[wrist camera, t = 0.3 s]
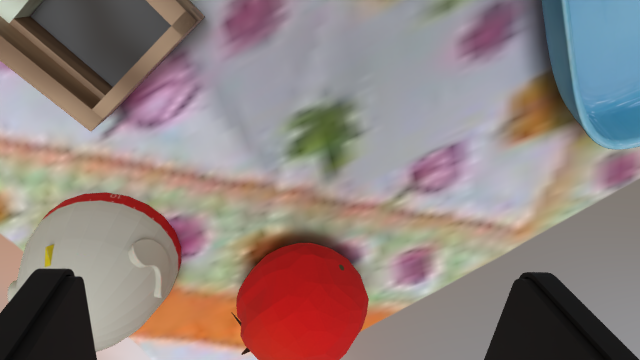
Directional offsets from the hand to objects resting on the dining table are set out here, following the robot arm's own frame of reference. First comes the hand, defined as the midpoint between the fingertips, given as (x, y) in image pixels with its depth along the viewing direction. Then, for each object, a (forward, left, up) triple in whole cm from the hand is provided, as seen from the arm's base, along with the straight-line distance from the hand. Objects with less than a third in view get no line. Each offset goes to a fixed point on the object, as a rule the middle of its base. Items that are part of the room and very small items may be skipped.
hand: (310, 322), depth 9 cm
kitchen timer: (+25, +2, -31) cm, 40 cm away
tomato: (+14, +18, -31) cm, 39 cm away
